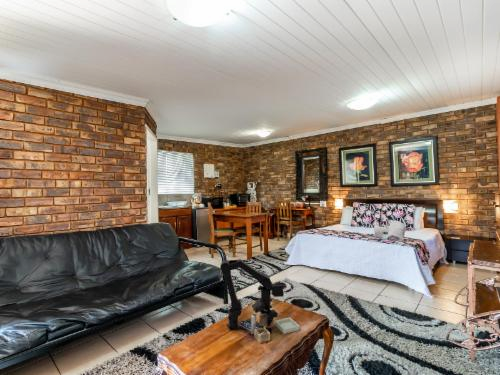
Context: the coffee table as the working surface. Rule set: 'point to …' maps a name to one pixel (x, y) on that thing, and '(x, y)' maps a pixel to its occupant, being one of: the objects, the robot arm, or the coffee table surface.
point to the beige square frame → (262, 335)
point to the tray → (286, 325)
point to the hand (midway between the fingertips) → (266, 323)
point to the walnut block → (264, 320)
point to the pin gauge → (253, 323)
